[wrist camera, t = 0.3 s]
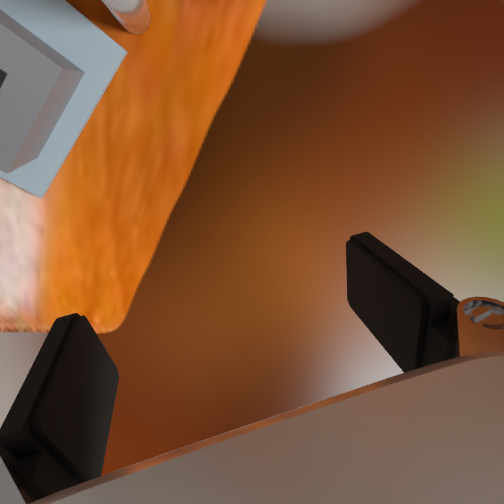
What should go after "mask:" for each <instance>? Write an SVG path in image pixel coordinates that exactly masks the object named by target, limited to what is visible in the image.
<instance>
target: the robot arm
mask: <svg viewBox="0 0 504 504" xmlns="http://www.w3.org/2000/svg"><path fill="white" fill-rule="evenodd" d="M346 263H347V299H348V303H349V305H350V307H351V308H352V309H353V311H354V312H355V313H356V314H357V316H358V317H359V318H360V319H361V320H362V322H363V323H364V324H365V325H366V327H367V328H368V329H369V330H370V331H371V333H372V334H373V335H374V336H375V338H376V339H377V340H378V341H379V342H380V344H381V345H382V346H383V347H384V349H385V350H386V351H387V352H388V353H389V355H391V357H392V358H393V360H394V361H395V362H396V363H397V364H398V366H399V367H400V368H401V369H402V371H403V372H404V373H403V374H399V375H396V376H393V377H390V378H387V379H384V380H381V381H378V382H375V383H372V384H369V385H366V386H363V387H360V388H357V389H354V390H351V391H348V392H345V393H342V394H339V395H336V396H333V397H330V398H327V399H324V400H321V401H318V402H315V403H312V404H309V405H306V406H303V407H300V408H297V409H294V410H291V411H288V412H285V413H282V414H279V415H276V416H273V417H271V418H268V419H265V420H262V421H259V422H256V423H253V424H250V425H247V426H244V427H241V428H239V429H236V430H232V431H230V432H227V433H224V434H221V435H218V436H215V437H212V438H209V439H206V440H203V441H200V442H198V443H194V444H192V445H189V446H186V447H183V448H180V449H177V450H174V451H171V452H168V453H166V454H163V455H160V456H157V457H154V458H151V459H148V460H145V461H143V462H140V463H137V464H134V465H131V466H128V467H125V468H122V469H119V470H117V471H114V472H111V473H108V474H106V475H103V476H101V473H102V467H103V462H104V457H105V451H106V446H107V440H108V435H109V429H110V424H111V418H112V413H113V407H114V402H115V397H116V391H117V386H118V380H119V374H118V370H117V367H116V366H115V364H114V362H113V361H112V359H111V358H110V356H109V354H108V353H107V351H106V349H105V348H104V346H103V344H102V343H101V341H100V339H99V338H98V336H97V334H96V333H95V331H94V329H93V328H92V326H91V324H90V323H89V321H88V320H87V318H86V317H85V316H80V315H79V314H77V313H74V314H70V315H67V316H63V317H60V318H57V319H56V320H55V322H54V323H53V325H52V327H51V329H50V331H49V333H48V336H47V337H46V339H45V341H44V343H43V345H42V347H41V349H40V351H39V353H38V355H37V357H36V359H35V361H34V363H33V365H32V367H31V369H30V371H29V373H28V375H27V377H26V379H25V381H24V383H23V385H22V387H21V389H20V391H19V393H18V395H17V397H16V399H15V401H14V403H13V405H12V407H11V409H10V411H9V413H8V415H7V417H6V419H5V421H4V423H3V424H2V426H1V428H0V504H504V302H502V301H499V300H497V299H492V298H488V297H470V298H466V299H464V300H462V301H461V302H460V301H458V300H457V299H455V298H454V297H453V294H452V293H450V292H449V291H448V290H446V289H445V288H444V287H442V286H441V285H439V284H438V283H437V282H435V281H434V280H433V279H431V278H430V277H429V276H427V275H426V274H425V273H423V272H422V271H420V270H419V269H418V268H416V267H415V266H414V265H412V264H411V263H410V262H408V261H407V260H405V259H404V258H403V257H401V256H400V255H399V254H397V253H396V252H394V251H393V250H392V249H390V248H389V247H388V246H386V245H385V244H384V243H382V242H381V241H379V240H378V239H377V238H375V237H374V236H373V235H371V234H370V233H368V232H364V233H360V234H356V235H352V236H351V237H350V240H349V241H347V243H346Z"/></svg>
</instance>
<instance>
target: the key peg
mask: <svg viewBox="0 0 504 504" xmlns="http://www.w3.org/2000/svg"><path fill="white" fill-rule="evenodd" d="M102 2H103V3H104V4H105V5H106V6H107V8H108V9H109V10H110V11H111V13H112V14H113V15H114V16H115V18H116V19H117V20H118V21H119V23H120V24H121V25H122V26H123V27H124V29H125V30H127V31H128V32H130V33H132V34H135V35H140V34H143V33H145V32H146V31H147V30H148V29H149V27H150V23H151V15H150V11H149V8H148V4H147V1H146V0H102Z"/></svg>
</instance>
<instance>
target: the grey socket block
mask: <svg viewBox="0 0 504 504" xmlns="http://www.w3.org/2000/svg"><path fill="white" fill-rule="evenodd" d="M126 54H127V51H126V50H124V49H123V48H122V47H121V46H120V45H118V44H117V43H116V42H115V41H114V40H112V39H111V38H110V37H109V36H108V35H106V34H105V33H104V32H103V31H102V30H100V29H99V28H98V27H97V26H96V25H94V24H93V23H92V22H91V21H90V20H88V19H87V18H86V17H85V16H83V15H82V14H81V13H80V12H79V11H77V10H76V9H75V8H74V7H73V6H71V5H70V4H69V3H68V2H67V1H65V0H0V177H1V178H3V179H5V180H7V181H9V182H11V183H13V184H14V185H16V186H18V187H20V188H22V189H24V190H26V191H28V192H30V193H32V194H34V195H35V196H37V197H39V198H42V197H43V196H44V195H45V194H46V192H47V190H48V188H49V187H50V185H51V183H52V181H53V180H54V178H55V176H56V175H57V173H58V171H59V169H60V168H61V166H62V164H63V163H64V161H65V159H66V157H67V156H68V154H69V152H70V151H71V149H72V147H73V145H74V144H75V142H76V140H77V138H78V137H79V135H80V133H81V132H82V130H83V128H84V126H85V125H86V123H87V121H88V120H89V118H90V116H91V114H92V113H93V111H94V109H95V107H96V106H97V104H98V102H99V101H100V99H101V97H102V95H103V94H104V92H105V90H106V89H107V87H108V85H109V83H110V82H111V80H112V78H113V76H114V75H115V73H116V71H117V70H118V68H119V66H120V64H121V63H122V61H123V59H124V58H125V56H126Z"/></svg>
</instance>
